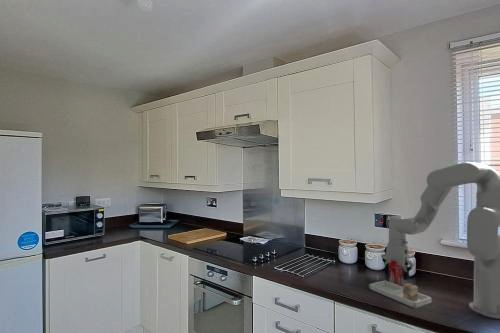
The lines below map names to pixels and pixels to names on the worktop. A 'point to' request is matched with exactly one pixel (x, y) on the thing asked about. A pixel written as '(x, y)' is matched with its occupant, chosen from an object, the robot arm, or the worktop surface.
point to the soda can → (396, 273)
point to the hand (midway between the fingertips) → (396, 276)
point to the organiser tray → (398, 293)
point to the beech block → (410, 292)
